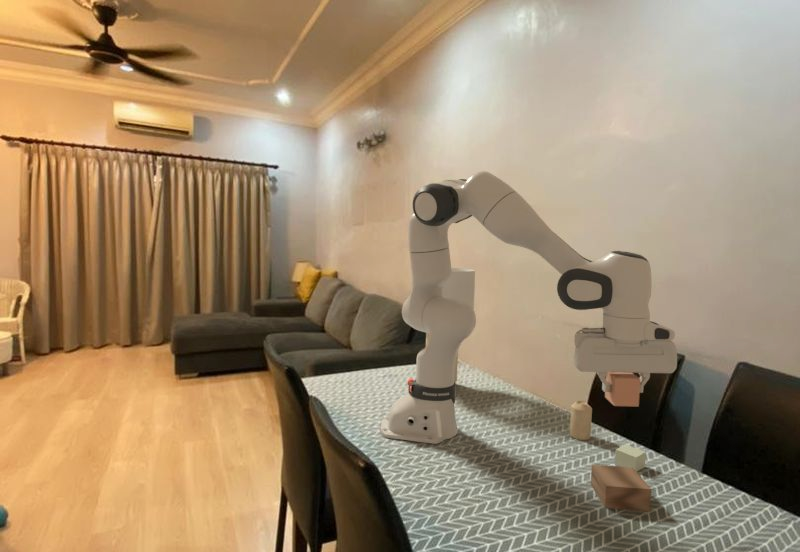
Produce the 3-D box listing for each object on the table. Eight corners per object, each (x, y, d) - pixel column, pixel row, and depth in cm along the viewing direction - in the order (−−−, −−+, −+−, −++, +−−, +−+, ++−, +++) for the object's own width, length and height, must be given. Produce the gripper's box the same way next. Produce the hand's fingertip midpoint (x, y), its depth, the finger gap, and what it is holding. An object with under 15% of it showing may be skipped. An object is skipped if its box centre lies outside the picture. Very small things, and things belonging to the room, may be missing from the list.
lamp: (407, 376, 181) (410, 267, 177) (462, 376, 183) (466, 268, 180) (415, 396, 158) (419, 270, 155) (478, 395, 160) (482, 272, 157)
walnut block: (604, 508, 93) (606, 485, 93) (590, 485, 102) (591, 464, 102) (649, 512, 92) (651, 489, 92) (631, 488, 101) (632, 467, 101)
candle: (592, 441, 125) (594, 406, 124) (571, 439, 126) (573, 404, 125) (588, 433, 130) (590, 399, 129) (568, 431, 131) (570, 398, 131)
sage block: (614, 464, 112) (615, 449, 112) (624, 459, 115) (625, 444, 115) (635, 473, 108) (636, 457, 108) (644, 467, 111) (645, 451, 111)
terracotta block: (614, 406, 94) (615, 378, 93) (604, 397, 99) (606, 370, 98) (638, 406, 94) (640, 378, 93) (628, 397, 98) (629, 371, 98)
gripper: (579, 330, 92) (577, 395, 93) (683, 332, 91) (679, 398, 92) (570, 324, 98) (568, 385, 100) (667, 325, 97) (663, 387, 98)
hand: (622, 391), depth 96 cm, fingers closed on terracotta block, 5 cm apart
